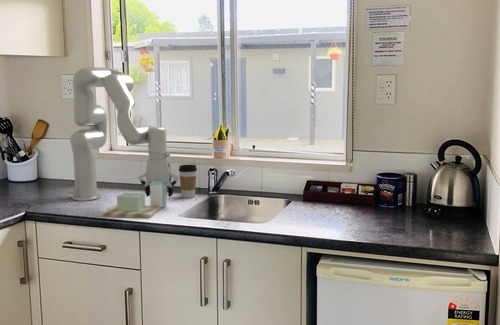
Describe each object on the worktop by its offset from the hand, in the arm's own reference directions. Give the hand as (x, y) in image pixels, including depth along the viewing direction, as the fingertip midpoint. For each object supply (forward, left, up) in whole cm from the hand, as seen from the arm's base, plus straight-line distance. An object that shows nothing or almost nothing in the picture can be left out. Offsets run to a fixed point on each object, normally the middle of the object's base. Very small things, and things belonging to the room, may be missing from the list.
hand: (159, 195), depth 234 cm
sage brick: (-8, -12, -3) cm, 15 cm away
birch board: (-8, -12, -5) cm, 15 cm away
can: (0, 0, -5) cm, 5 cm away
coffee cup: (+8, +21, -5) cm, 23 cm away
